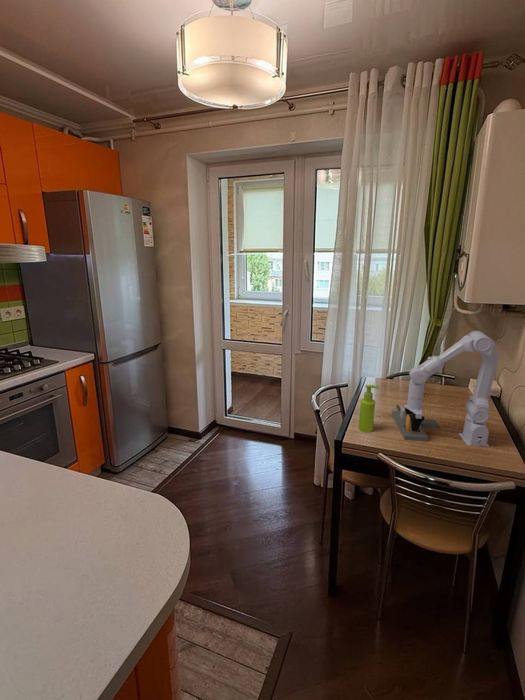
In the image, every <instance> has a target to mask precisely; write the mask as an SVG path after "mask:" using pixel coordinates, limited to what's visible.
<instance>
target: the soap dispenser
mask: <svg viewBox="0 0 525 700" xmlns="http://www.w3.org/2000/svg"><path fill="white" fill-rule="evenodd" d="M365 388H366V391H365V392H364V394H363V398H361V399H360V405H359V419H358V430H359V431H360V432H363V433H366V434H367V433H372V432H373V431H374V421H375V412H376V411H375V408H376V401H375V400H374V399H373V392H372V389H377V390H378V389H380V386H379V385H375V384H365Z"/></svg>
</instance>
